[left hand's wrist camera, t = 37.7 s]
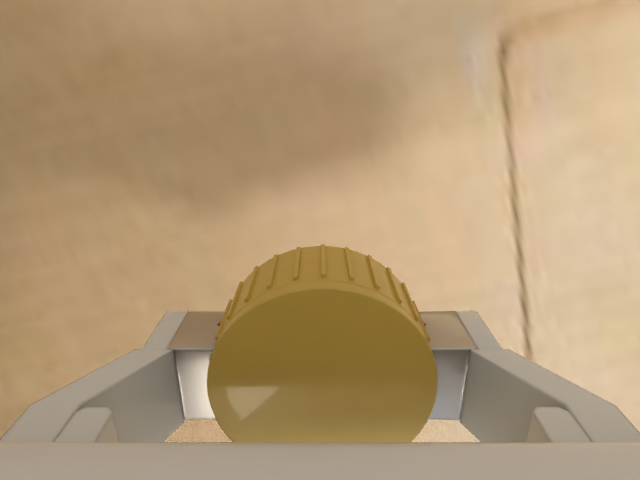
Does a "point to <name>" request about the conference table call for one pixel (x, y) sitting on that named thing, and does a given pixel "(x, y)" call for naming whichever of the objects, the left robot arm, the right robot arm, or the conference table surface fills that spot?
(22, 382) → the conference table surface
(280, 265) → the cap
